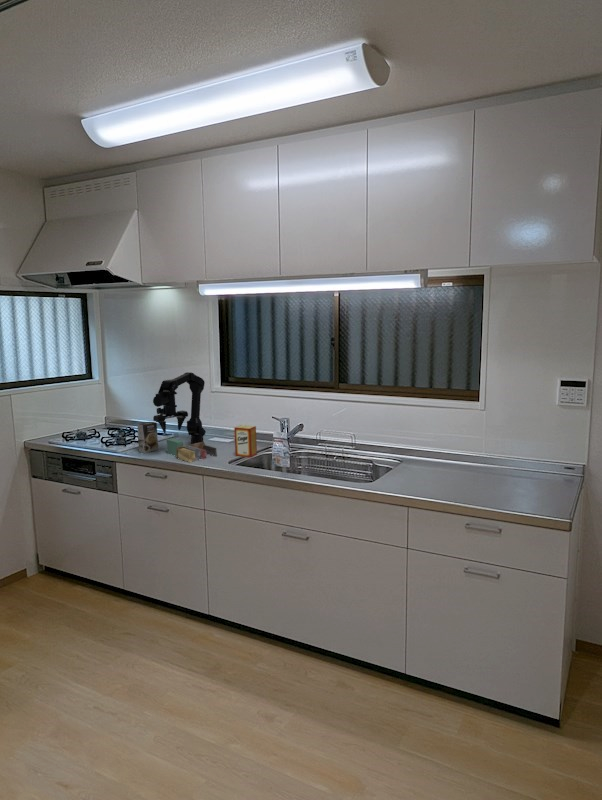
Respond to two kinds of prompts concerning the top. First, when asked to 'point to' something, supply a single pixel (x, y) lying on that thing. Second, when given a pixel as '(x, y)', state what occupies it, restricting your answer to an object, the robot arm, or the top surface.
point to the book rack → (195, 451)
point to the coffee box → (147, 437)
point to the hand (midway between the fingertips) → (172, 431)
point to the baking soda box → (245, 441)
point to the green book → (173, 446)
